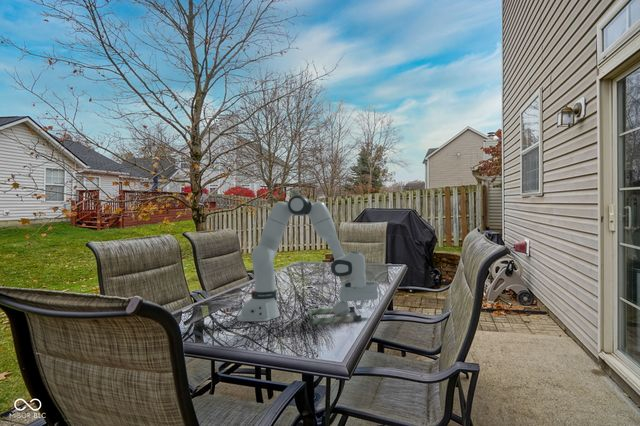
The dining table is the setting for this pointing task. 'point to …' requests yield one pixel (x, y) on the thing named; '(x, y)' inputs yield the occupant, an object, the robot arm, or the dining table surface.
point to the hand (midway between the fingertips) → (359, 308)
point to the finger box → (333, 319)
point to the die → (341, 309)
